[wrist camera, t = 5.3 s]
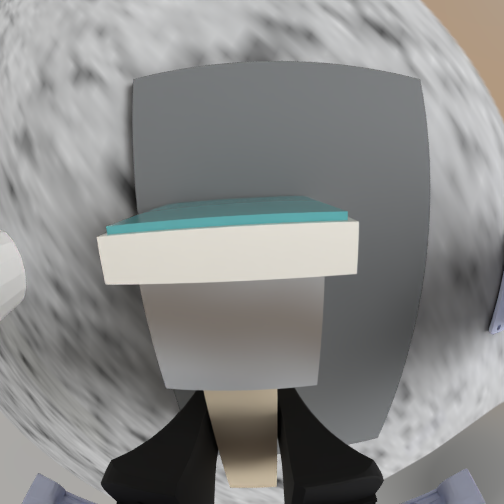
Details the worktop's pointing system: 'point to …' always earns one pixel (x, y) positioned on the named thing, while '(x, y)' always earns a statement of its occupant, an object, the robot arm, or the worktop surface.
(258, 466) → the turner
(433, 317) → the worktop surface
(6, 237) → the white cup
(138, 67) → the worktop surface
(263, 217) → the tile
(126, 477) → the robot arm
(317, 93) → the mat
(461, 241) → the worktop surface
